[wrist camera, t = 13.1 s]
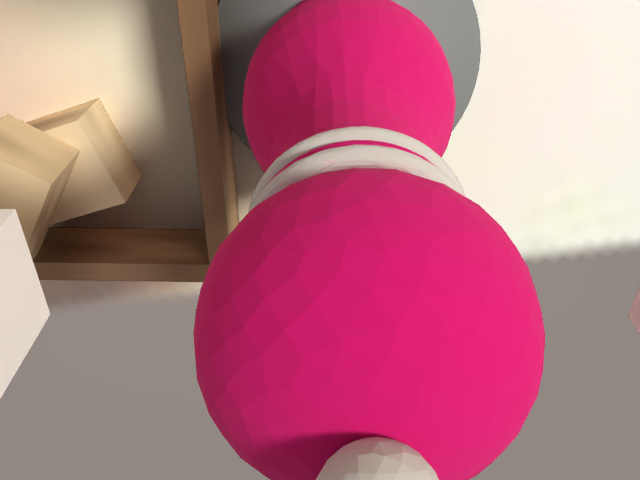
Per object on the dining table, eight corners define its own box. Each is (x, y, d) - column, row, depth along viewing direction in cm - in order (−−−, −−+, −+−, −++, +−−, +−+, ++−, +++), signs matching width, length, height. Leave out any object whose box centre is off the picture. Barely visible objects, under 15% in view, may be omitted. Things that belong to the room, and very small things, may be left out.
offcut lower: (3, 214, 29) (-28, 247, 27) (-48, 145, 27) (-86, 173, 24) (144, 171, 28) (125, 202, 25) (102, 94, 25) (77, 120, 23)
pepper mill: (365, 177, 26) (428, 731, 9) (225, 92, 24) (-10, 614, 7) (471, 41, 23) (858, 536, 6) (319, -71, 21) (275, 214, 4)
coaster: (224, 176, 27) (222, 184, 26) (199, -91, 21) (195, -89, 20) (456, 179, 27) (459, 187, 26) (498, -88, 21) (503, -86, 20)
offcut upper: (39, 251, 27) (9, 291, 24) (-27, 222, 26) (-65, 261, 23) (80, 149, 24) (51, 184, 21) (7, 114, 23) (-32, 144, 20)
